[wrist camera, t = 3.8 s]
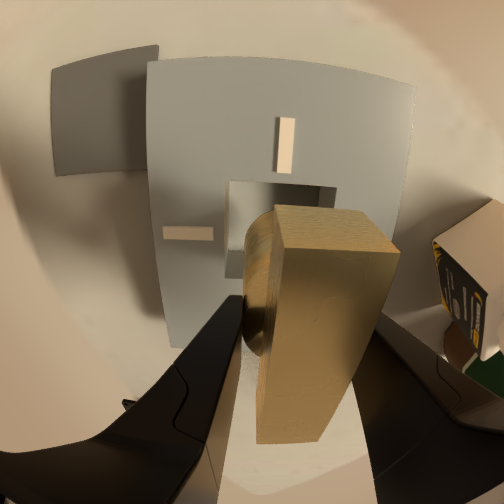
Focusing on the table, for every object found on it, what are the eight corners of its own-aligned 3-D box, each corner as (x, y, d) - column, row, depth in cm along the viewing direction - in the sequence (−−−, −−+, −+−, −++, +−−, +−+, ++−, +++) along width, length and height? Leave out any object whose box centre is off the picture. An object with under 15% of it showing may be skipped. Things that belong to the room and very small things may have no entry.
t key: (329, 167, 11) (427, 254, 4) (306, 308, 14) (334, 439, 8) (248, 160, 11) (244, 245, 4) (242, 307, 14) (237, 443, 8)
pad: (157, 167, 15) (155, 169, 14) (59, 174, 14) (55, 176, 14) (158, 46, 11) (156, 44, 11) (55, 69, 11) (52, 69, 11)
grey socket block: (344, 320, 20) (356, 351, 17) (179, 317, 20) (170, 349, 17) (388, 88, 12) (418, 86, 10) (166, 70, 12) (145, 61, 9)
